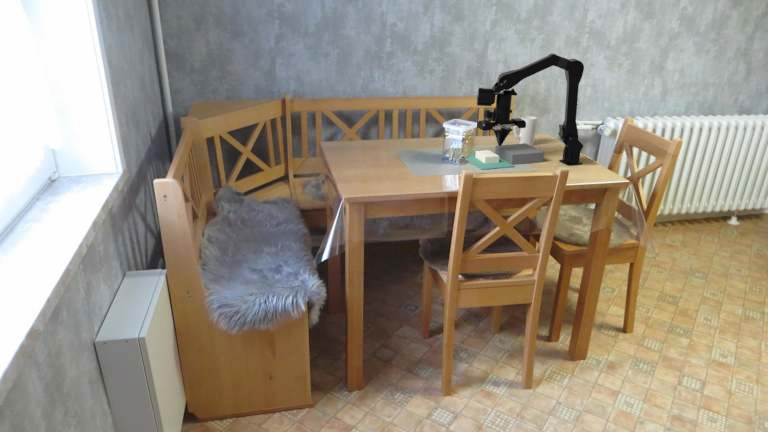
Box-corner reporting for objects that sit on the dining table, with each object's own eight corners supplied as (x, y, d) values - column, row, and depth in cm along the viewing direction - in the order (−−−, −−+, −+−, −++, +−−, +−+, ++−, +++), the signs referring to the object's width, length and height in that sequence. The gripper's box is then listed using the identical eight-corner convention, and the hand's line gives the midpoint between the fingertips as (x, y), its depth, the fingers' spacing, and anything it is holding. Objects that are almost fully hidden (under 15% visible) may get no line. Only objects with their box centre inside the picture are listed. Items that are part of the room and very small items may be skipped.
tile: (485, 157, 213) (485, 163, 214) (499, 156, 214) (498, 162, 215) (475, 151, 221) (475, 157, 222) (489, 150, 222) (488, 156, 223)
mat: (514, 167, 211) (514, 166, 211) (481, 169, 207) (481, 168, 207) (490, 153, 229) (490, 152, 229) (459, 155, 225) (459, 154, 225)
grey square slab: (542, 161, 218) (544, 152, 216) (511, 164, 214) (512, 154, 212) (524, 152, 230) (525, 143, 229) (494, 155, 226) (495, 145, 225)
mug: (529, 142, 246) (532, 115, 242) (536, 145, 240) (539, 118, 236) (508, 143, 244) (511, 116, 240) (515, 147, 238) (518, 119, 234)
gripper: (514, 101, 221) (510, 139, 227) (472, 103, 216) (469, 142, 222) (528, 106, 211) (524, 146, 217) (485, 109, 206) (481, 149, 212)
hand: (499, 145), depth 217 cm, fingers closed
